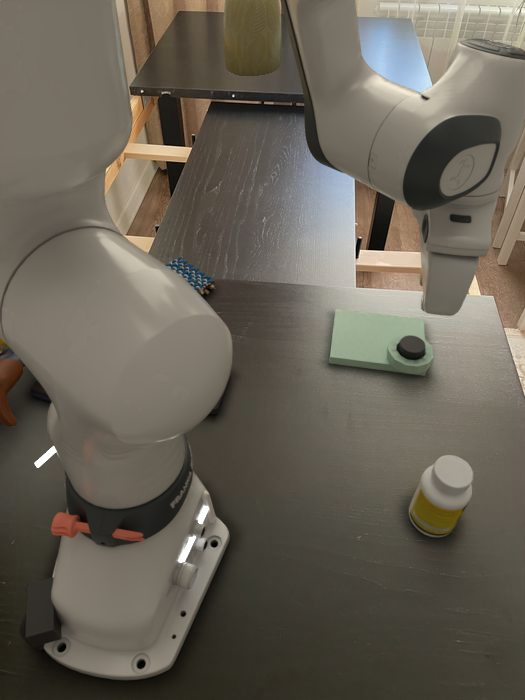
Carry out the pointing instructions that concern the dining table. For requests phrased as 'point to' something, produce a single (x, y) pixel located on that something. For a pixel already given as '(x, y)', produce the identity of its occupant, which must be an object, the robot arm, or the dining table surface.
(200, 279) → the woven mat
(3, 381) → the figurine
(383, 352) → the scale
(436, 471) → the supplement bottle
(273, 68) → the vase
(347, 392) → the dining table surface
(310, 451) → the dining table surface
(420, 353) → the tare button
